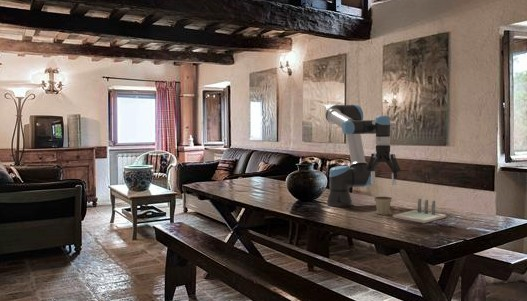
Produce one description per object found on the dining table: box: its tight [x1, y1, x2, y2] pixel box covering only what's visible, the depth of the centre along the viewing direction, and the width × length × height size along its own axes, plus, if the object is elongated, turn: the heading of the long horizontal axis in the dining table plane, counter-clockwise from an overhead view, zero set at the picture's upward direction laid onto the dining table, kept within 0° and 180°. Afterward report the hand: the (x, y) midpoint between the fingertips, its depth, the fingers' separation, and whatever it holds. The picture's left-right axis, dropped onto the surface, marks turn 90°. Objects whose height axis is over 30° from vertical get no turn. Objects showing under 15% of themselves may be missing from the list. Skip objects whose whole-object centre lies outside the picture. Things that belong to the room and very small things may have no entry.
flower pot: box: [373, 196, 393, 216], centre depth 233 cm, size 9×9×9 cm
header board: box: [392, 198, 447, 224], centre depth 223 cm, size 18×20×8 cm
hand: (383, 184), depth 233 cm, fingers open, 13 cm apart
